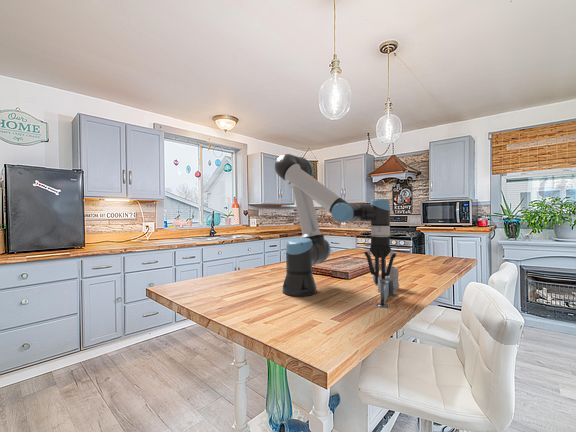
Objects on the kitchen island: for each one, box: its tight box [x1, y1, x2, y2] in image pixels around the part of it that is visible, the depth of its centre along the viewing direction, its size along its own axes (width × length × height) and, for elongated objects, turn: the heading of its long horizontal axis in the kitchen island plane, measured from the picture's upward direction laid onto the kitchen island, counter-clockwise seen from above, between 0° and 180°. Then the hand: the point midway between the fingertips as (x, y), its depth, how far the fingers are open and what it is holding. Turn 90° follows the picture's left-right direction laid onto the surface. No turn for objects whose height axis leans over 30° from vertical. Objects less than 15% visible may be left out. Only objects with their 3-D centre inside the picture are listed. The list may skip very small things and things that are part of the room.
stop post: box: [388, 280, 399, 298], centre depth 118 cm, size 3×4×6 cm
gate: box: [384, 276, 390, 304], centre depth 112 cm, size 16×2×7 cm, turn 153°
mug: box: [372, 264, 400, 291], centre depth 129 cm, size 8×12×12 cm, turn 87°
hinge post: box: [376, 279, 389, 309], centre depth 104 cm, size 4×4×10 cm
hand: (380, 291), depth 117 cm, fingers closed
